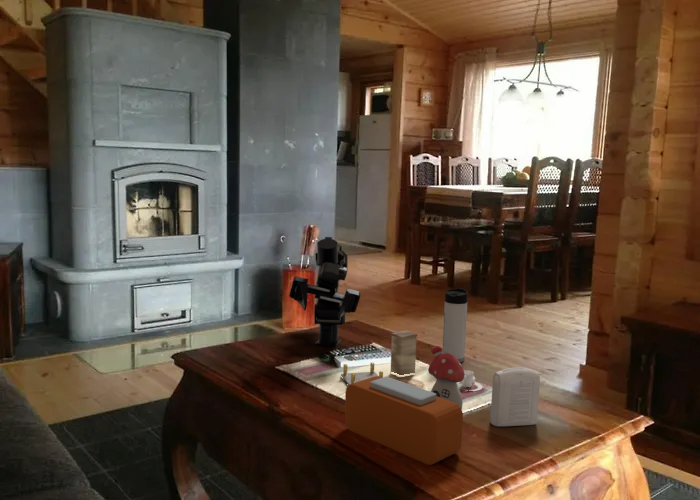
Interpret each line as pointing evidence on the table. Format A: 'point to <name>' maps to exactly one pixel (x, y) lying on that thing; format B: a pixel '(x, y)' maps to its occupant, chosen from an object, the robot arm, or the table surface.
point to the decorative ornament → (446, 375)
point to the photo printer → (515, 397)
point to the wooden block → (403, 352)
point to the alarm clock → (404, 418)
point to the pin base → (359, 375)
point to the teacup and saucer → (470, 380)
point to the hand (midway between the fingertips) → (322, 313)
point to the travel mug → (455, 323)
